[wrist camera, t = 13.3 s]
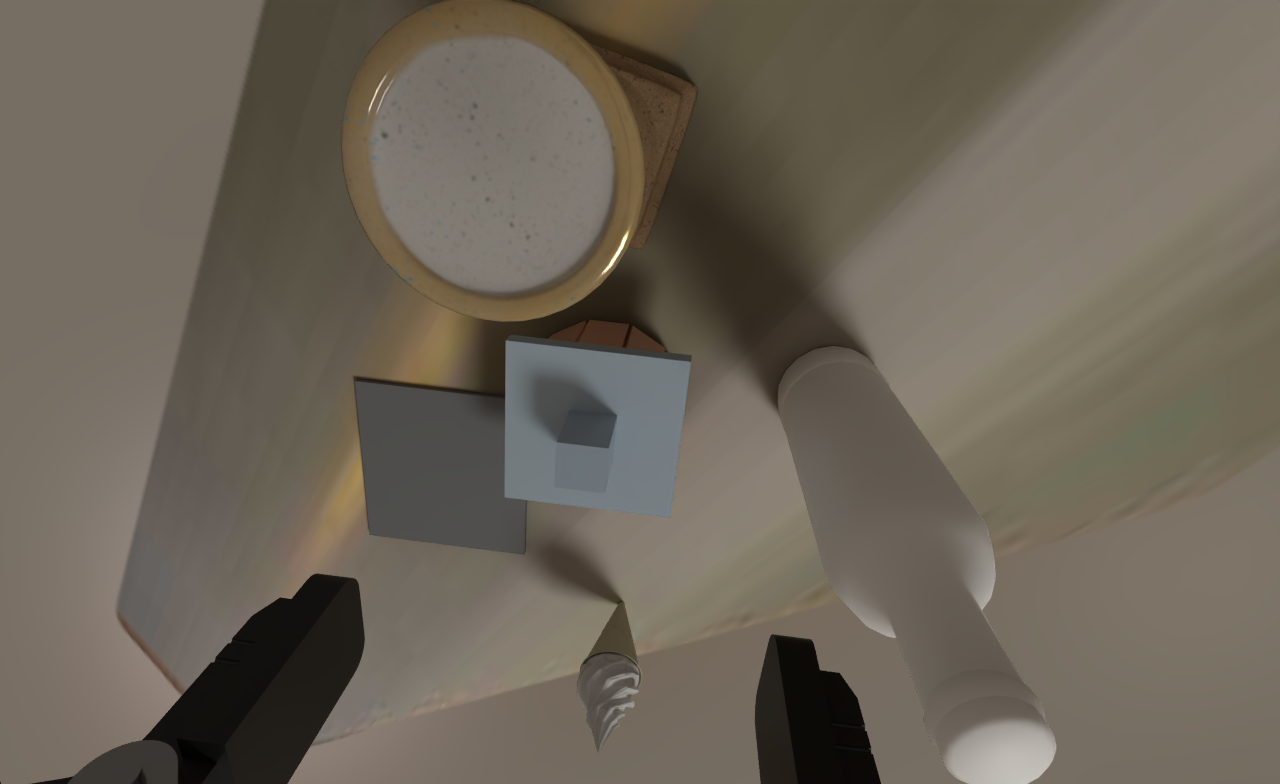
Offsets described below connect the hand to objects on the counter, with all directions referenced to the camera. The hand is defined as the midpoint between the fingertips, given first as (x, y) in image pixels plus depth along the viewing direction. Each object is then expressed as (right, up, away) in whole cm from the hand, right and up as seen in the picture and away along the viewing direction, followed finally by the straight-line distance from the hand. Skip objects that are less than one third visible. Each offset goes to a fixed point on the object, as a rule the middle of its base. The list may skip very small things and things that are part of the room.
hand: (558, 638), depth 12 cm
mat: (-15, -2, +42) cm, 44 cm away
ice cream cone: (0, -15, +46) cm, 48 cm away
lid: (-2, +2, +32) cm, 32 cm away
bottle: (+16, +5, +36) cm, 40 cm away
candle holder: (-1, +22, +30) cm, 37 cm away
